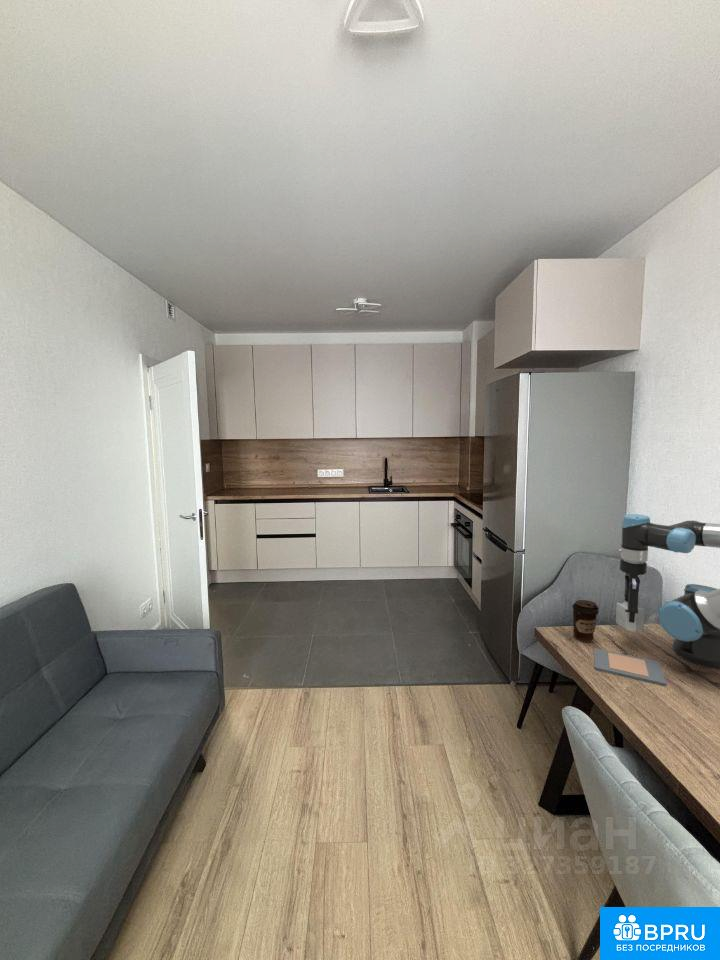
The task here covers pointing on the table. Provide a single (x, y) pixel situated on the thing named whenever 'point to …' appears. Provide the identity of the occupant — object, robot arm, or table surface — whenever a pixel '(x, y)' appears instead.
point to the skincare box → (622, 616)
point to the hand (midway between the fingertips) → (629, 625)
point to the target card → (629, 666)
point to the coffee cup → (584, 620)
